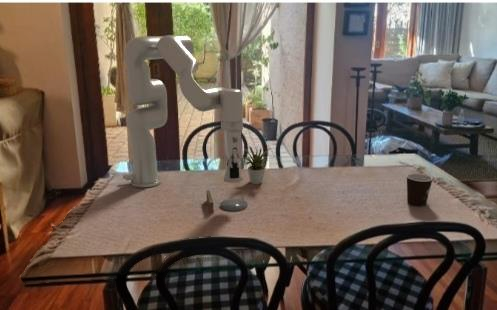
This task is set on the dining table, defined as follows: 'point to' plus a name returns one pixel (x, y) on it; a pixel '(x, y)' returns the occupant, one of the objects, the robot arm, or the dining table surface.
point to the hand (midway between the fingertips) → (233, 174)
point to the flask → (227, 175)
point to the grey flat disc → (233, 204)
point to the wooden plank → (210, 201)
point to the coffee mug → (418, 189)
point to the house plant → (256, 166)
